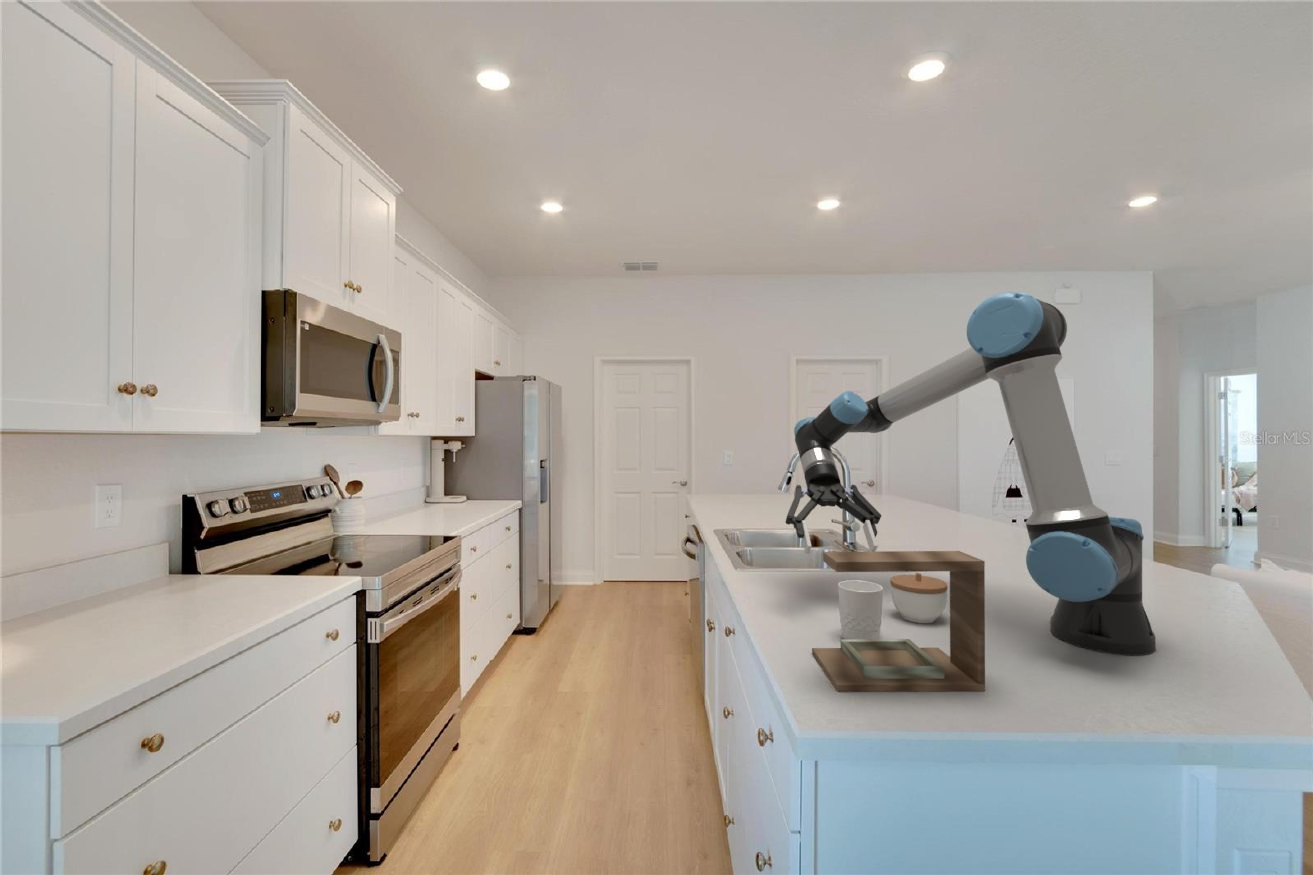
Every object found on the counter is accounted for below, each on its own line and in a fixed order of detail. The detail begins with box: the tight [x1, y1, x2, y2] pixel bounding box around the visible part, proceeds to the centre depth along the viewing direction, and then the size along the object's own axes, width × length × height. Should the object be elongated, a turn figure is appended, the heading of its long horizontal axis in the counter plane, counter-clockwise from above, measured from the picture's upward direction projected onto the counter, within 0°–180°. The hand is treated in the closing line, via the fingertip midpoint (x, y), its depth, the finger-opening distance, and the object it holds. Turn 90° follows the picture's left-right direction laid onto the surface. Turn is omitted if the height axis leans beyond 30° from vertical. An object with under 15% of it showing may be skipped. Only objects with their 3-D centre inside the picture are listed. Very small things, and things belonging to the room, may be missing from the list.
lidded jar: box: [889, 572, 948, 624], centre depth 114 cm, size 11×11×9 cm
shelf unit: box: [811, 550, 986, 693], centre depth 89 cm, size 22×14×20 cm, turn 89°
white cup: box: [837, 579, 884, 639], centre depth 103 cm, size 8×8×10 cm
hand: (841, 549), depth 113 cm, fingers open, 13 cm apart
